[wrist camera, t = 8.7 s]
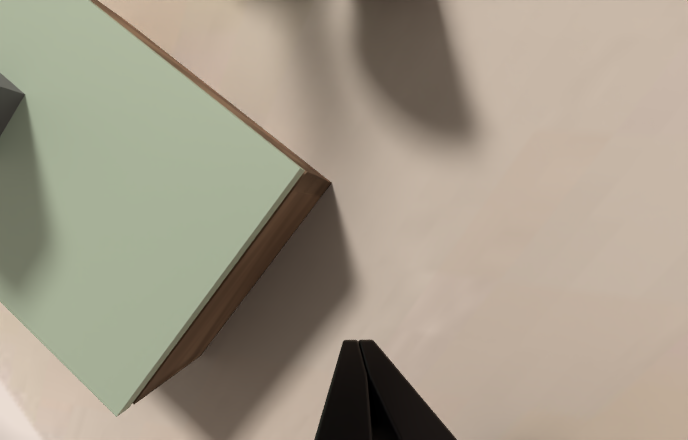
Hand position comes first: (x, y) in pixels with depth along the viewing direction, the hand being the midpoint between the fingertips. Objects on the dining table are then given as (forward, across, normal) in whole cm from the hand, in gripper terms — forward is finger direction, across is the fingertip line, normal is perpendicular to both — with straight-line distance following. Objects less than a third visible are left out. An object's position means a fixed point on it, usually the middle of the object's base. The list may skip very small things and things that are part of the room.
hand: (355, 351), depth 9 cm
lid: (+12, +14, -1) cm, 18 cm away
